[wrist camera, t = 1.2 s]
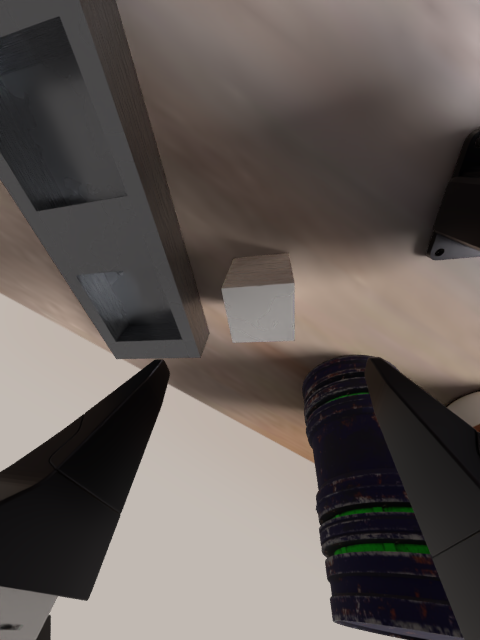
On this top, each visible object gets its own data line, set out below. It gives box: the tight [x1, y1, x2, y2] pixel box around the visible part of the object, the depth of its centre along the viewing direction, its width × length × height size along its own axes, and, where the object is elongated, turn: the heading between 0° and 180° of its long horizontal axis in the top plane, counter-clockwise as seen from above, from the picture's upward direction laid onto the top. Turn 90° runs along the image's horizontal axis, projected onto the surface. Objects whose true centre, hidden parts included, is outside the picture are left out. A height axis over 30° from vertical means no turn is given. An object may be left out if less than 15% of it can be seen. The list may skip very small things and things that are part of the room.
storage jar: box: [302, 355, 464, 640], centre depth 17 cm, size 10×10×15 cm
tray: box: [0, 0, 210, 359], centre depth 15 cm, size 8×20×3 cm, turn 8°
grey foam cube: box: [221, 253, 295, 343], centre depth 15 cm, size 4×4×5 cm
